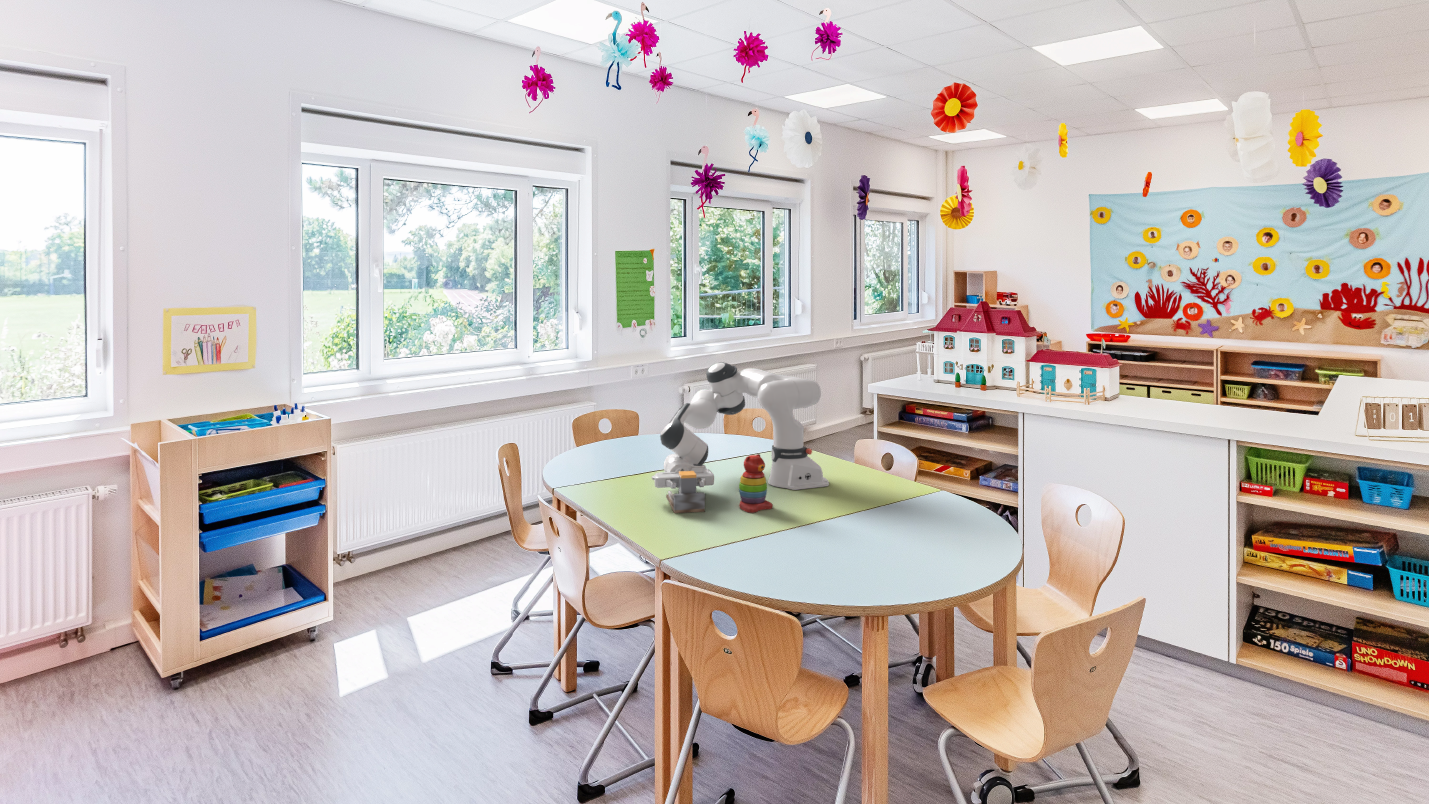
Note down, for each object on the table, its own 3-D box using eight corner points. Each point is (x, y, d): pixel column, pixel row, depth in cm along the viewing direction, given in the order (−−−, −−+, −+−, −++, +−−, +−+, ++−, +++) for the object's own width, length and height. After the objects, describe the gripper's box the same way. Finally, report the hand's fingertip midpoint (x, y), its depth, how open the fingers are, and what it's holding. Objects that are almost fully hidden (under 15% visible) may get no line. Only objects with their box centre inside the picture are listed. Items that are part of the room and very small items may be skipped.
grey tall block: (693, 502, 256) (693, 470, 254) (696, 507, 252) (696, 474, 250) (678, 503, 255) (678, 471, 253) (681, 507, 251) (681, 475, 249)
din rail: (694, 495, 268) (694, 479, 267) (704, 511, 250) (704, 493, 249) (666, 497, 266) (666, 480, 265) (674, 513, 248) (674, 495, 247)
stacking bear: (750, 513, 249) (751, 460, 246) (731, 506, 257) (732, 454, 254) (775, 508, 255) (776, 456, 252) (756, 500, 263) (757, 450, 260)
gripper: (650, 467, 262) (656, 477, 249) (709, 464, 266) (717, 475, 253) (650, 484, 263) (656, 496, 250) (709, 482, 267) (717, 493, 254)
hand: (687, 485), depth 251 cm, fingers open, 8 cm apart
